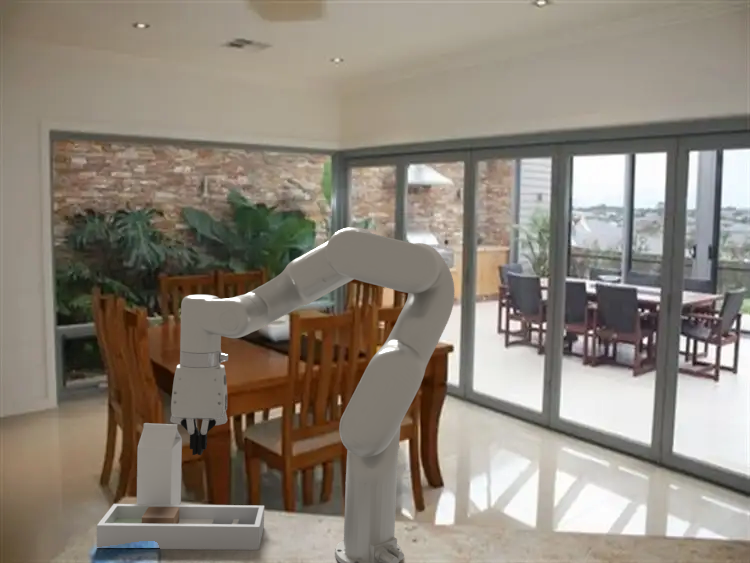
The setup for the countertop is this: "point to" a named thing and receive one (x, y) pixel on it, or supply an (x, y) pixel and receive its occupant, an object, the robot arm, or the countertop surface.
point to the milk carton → (159, 465)
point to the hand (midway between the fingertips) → (198, 452)
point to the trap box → (186, 527)
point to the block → (161, 515)
